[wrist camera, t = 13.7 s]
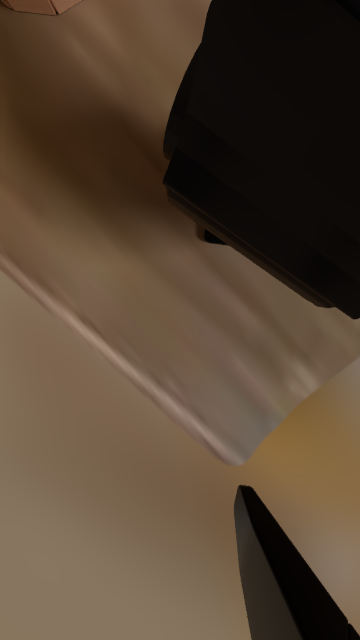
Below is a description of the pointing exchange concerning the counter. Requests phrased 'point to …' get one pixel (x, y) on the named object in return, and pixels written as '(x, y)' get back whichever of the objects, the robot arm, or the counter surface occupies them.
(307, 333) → the counter surface
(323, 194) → the robot arm
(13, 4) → the bowl
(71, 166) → the counter surface
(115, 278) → the counter surface
